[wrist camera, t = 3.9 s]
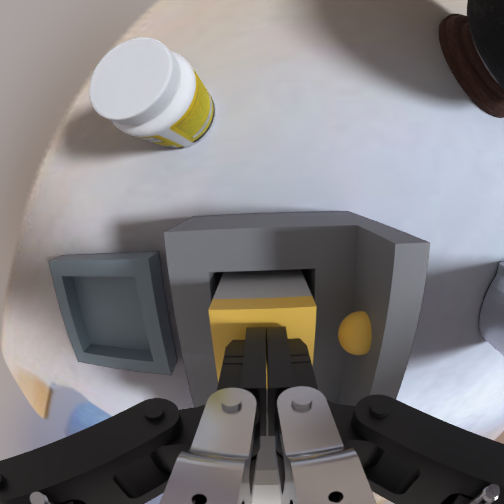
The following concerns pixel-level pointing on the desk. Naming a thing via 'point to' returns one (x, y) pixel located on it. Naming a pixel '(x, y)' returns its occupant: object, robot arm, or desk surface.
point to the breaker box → (320, 285)
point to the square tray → (116, 310)
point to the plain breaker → (266, 472)
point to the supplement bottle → (152, 94)
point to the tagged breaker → (261, 308)
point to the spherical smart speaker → (477, 52)
